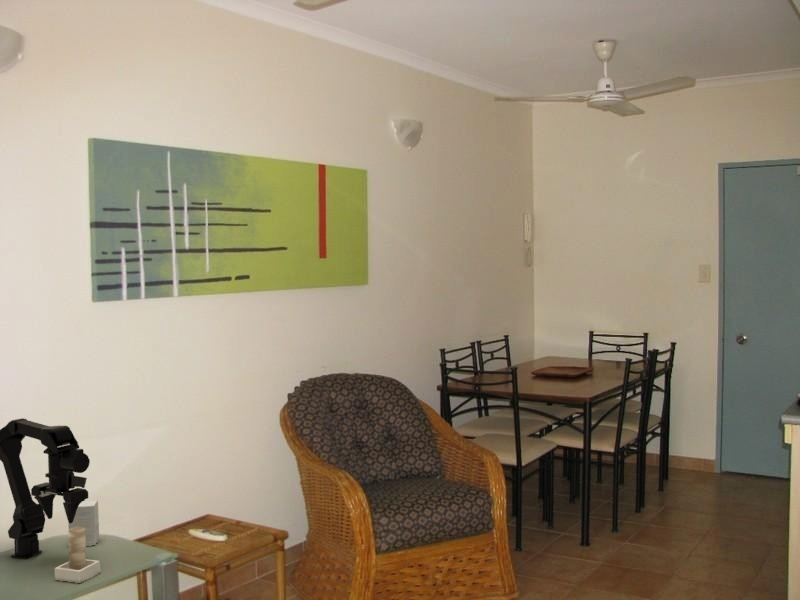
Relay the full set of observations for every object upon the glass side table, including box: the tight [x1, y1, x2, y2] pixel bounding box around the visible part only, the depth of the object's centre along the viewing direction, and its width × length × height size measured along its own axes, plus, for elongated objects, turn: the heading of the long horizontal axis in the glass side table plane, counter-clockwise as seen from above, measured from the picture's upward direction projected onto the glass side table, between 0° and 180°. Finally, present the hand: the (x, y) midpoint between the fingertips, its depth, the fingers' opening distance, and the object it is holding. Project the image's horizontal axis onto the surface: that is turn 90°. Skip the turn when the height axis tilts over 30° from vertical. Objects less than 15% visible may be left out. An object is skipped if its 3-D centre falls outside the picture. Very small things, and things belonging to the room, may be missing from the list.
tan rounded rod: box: [67, 526, 87, 570], centre depth 233 cm, size 4×4×13 cm
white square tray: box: [54, 558, 101, 584], centre depth 233 cm, size 9×9×4 cm
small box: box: [68, 500, 100, 547], centre depth 261 cm, size 8×6×13 cm
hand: (60, 520), depth 243 cm, fingers open, 9 cm apart
